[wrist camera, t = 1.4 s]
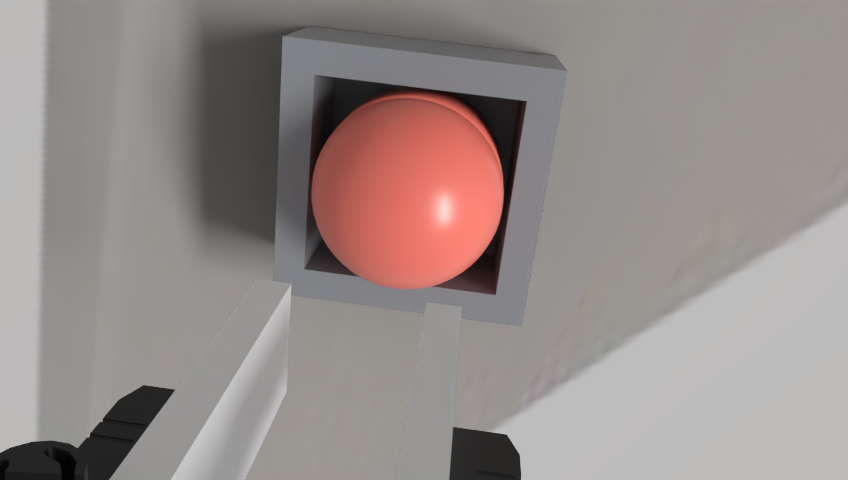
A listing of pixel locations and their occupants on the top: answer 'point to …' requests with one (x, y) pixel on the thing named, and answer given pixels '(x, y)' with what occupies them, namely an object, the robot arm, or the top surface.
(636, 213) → the top surface
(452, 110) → the coral red ball
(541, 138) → the housing
